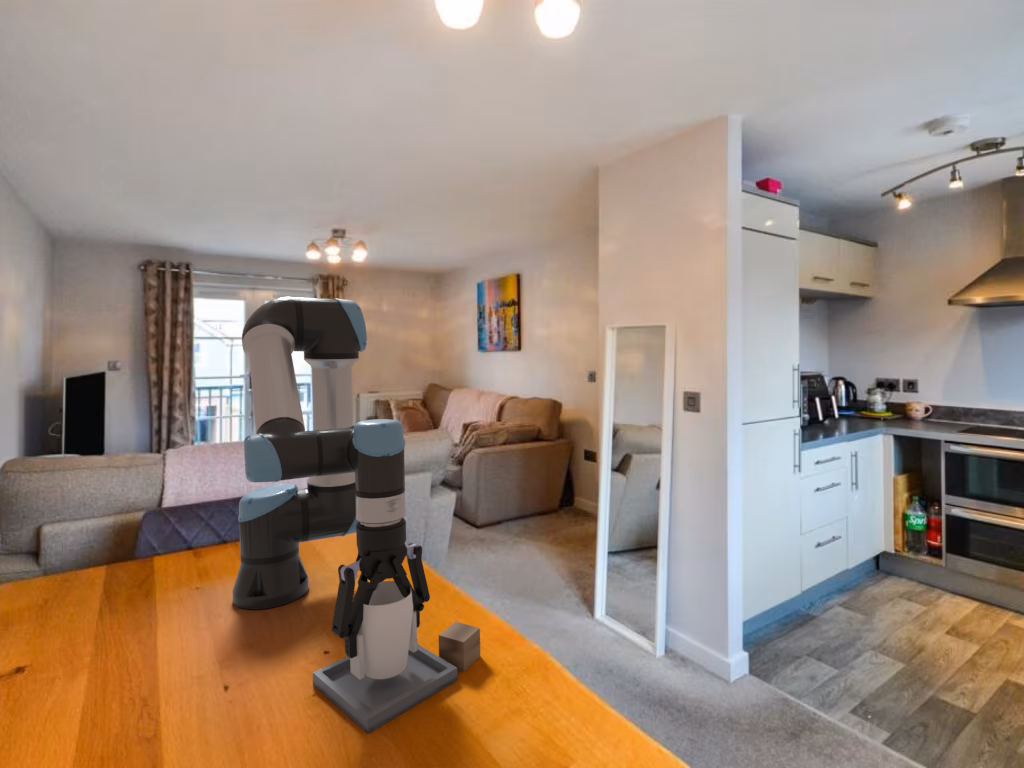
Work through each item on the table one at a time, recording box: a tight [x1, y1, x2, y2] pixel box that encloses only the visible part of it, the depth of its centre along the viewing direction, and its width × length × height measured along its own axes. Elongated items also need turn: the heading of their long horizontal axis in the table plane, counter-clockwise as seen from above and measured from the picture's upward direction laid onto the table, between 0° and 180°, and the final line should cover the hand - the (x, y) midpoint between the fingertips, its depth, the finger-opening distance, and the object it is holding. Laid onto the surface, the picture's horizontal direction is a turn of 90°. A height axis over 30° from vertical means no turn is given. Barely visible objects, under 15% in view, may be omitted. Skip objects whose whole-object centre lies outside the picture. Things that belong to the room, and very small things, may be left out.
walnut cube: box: [438, 621, 481, 673], centre depth 88 cm, size 5×5×5 cm
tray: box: [312, 643, 458, 734], centre depth 82 cm, size 16×16×2 cm
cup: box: [354, 580, 413, 679], centre depth 82 cm, size 9×9×12 cm
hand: (385, 661), depth 82 cm, fingers closed on cup, 9 cm apart
